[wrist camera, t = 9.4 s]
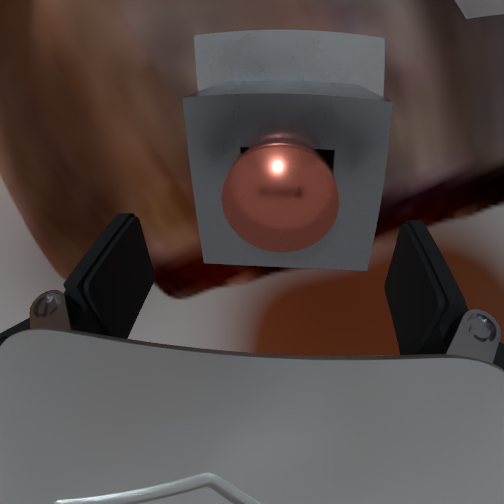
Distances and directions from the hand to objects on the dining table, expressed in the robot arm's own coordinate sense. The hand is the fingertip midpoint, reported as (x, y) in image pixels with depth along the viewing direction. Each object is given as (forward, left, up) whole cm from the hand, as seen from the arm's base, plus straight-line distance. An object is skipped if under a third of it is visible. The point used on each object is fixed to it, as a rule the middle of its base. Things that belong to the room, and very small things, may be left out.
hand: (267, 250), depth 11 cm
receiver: (0, 0, -16) cm, 16 cm away
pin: (0, 0, -14) cm, 14 cm away
